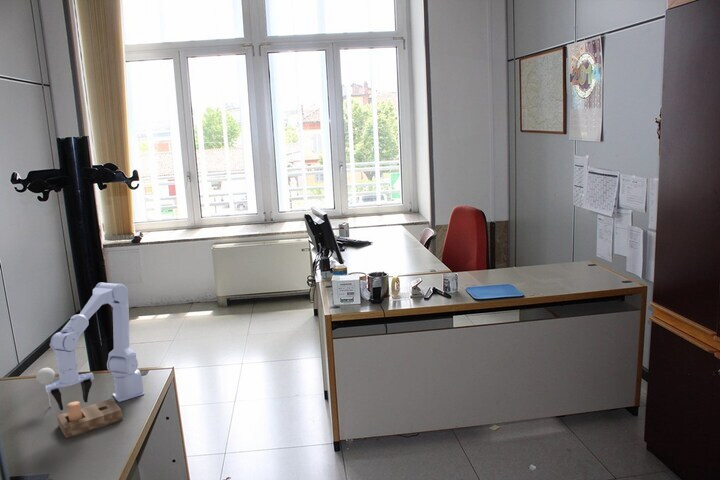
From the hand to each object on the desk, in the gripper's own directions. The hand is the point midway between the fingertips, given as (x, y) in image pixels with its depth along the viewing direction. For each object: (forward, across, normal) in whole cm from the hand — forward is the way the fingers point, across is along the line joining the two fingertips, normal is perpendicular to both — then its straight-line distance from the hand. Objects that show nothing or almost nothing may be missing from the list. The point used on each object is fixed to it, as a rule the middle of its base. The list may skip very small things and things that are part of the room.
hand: (73, 405), depth 201 cm
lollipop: (+8, +3, -23) cm, 25 cm away
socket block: (+8, -4, 0) cm, 9 cm away
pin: (+8, 0, 0) cm, 8 cm away
